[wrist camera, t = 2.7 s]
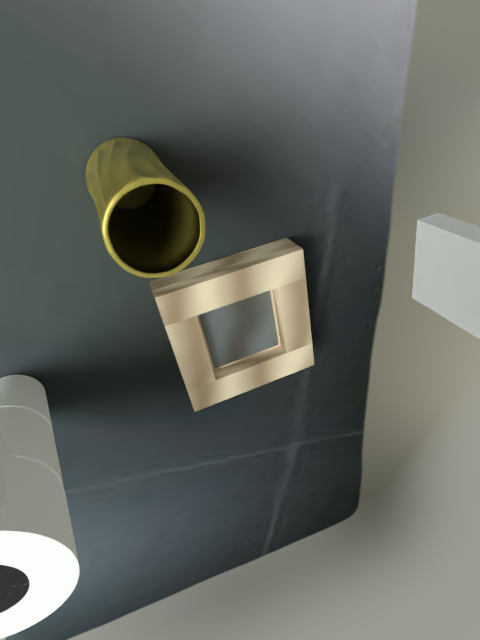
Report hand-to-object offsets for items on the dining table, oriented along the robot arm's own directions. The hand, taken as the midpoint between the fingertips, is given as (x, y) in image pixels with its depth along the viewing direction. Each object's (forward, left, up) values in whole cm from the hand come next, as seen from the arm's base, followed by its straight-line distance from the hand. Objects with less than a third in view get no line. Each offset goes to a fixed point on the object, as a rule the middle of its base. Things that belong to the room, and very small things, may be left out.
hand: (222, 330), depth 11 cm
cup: (-16, -16, -25) cm, 34 cm away
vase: (0, 0, -25) cm, 25 cm away
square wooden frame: (+6, -16, -25) cm, 30 cm away
